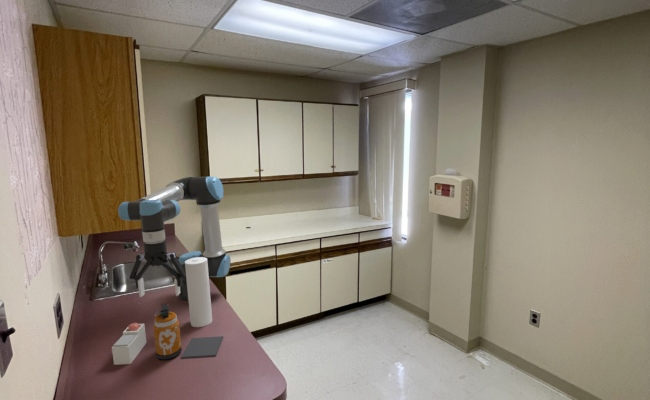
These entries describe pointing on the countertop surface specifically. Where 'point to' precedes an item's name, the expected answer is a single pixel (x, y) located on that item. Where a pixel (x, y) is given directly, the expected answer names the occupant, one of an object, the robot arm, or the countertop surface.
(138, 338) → the white rectangular box
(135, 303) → the countertop surface
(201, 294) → the cylinder container
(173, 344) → the canister
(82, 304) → the countertop surface
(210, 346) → the drip mat
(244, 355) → the countertop surface
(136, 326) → the salmon pink capsule
